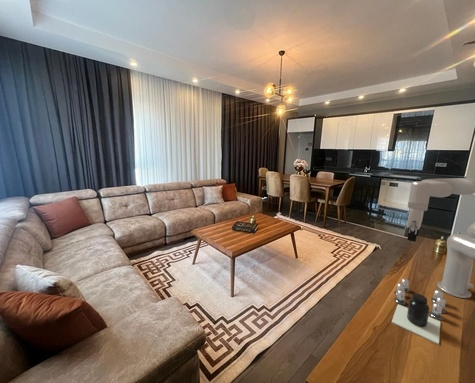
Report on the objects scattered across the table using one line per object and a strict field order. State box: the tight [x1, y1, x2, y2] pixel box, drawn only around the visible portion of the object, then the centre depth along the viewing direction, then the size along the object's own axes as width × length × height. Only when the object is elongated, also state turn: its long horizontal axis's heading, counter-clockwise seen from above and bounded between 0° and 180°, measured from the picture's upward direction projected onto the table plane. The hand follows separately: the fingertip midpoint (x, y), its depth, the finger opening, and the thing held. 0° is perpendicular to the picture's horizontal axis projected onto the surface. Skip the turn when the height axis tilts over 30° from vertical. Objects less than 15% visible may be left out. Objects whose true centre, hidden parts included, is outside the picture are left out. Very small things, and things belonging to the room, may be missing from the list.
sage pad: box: [391, 303, 441, 346], centre depth 90 cm, size 15×15×1 cm
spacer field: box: [394, 277, 447, 321], centre depth 102 cm, size 17×19×6 cm
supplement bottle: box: [407, 293, 430, 327], centre depth 89 cm, size 7×7×12 cm
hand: (412, 237), depth 106 cm, fingers open, 9 cm apart
